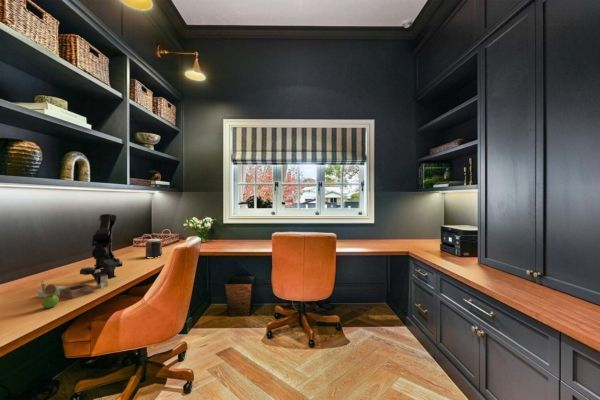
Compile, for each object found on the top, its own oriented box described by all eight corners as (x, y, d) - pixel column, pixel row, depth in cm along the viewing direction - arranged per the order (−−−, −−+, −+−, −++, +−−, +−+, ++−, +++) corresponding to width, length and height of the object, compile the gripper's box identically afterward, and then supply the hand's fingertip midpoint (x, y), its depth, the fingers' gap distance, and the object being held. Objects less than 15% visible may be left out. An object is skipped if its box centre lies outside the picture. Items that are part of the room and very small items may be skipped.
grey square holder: (81, 290, 131) (81, 283, 131) (93, 292, 128) (93, 285, 128) (59, 296, 122) (60, 289, 122) (72, 299, 119) (72, 291, 119)
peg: (103, 285, 138) (103, 273, 138) (107, 285, 137) (107, 274, 137) (96, 287, 135) (96, 275, 135) (101, 287, 134) (101, 276, 134)
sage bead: (51, 292, 128) (51, 286, 128) (65, 291, 128) (65, 286, 128) (37, 297, 121) (37, 291, 121) (52, 297, 121) (52, 291, 121)
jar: (153, 259, 201) (153, 240, 201) (142, 258, 204) (142, 240, 204) (165, 256, 212) (165, 238, 212) (154, 255, 216) (154, 238, 216)
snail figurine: (47, 305, 112) (47, 278, 112) (62, 304, 112) (62, 278, 113) (35, 310, 107) (35, 282, 107) (51, 309, 107) (51, 282, 107)
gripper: (93, 259, 125) (93, 290, 125) (129, 252, 143) (129, 279, 143) (79, 258, 128) (79, 288, 128) (115, 251, 146) (115, 277, 146)
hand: (102, 282), depth 136 cm, fingers closed on peg, 3 cm apart
